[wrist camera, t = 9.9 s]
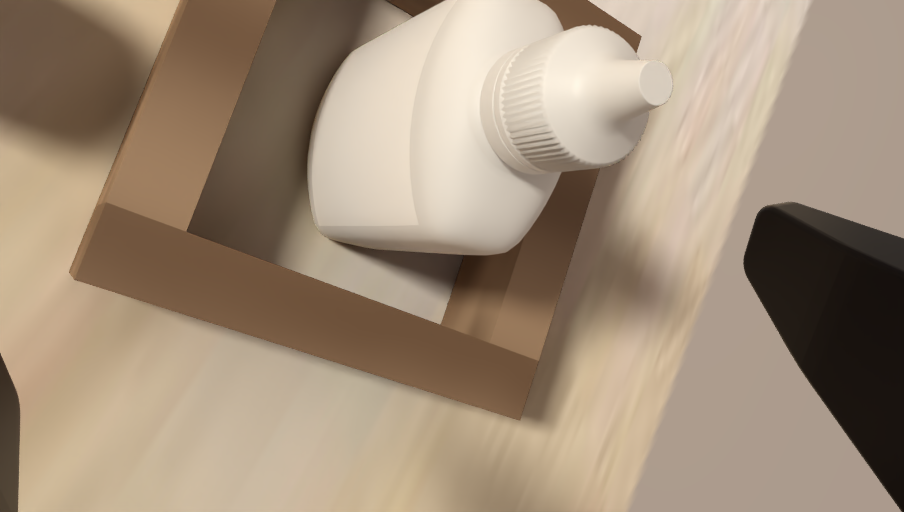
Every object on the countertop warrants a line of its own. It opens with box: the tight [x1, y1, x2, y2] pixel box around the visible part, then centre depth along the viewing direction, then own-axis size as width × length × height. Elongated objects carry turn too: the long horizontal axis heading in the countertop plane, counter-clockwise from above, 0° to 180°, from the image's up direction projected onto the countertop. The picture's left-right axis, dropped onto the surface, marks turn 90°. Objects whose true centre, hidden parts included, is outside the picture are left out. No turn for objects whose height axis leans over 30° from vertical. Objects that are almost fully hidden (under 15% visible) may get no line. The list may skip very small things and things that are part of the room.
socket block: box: [69, 0, 642, 420], centre depth 21 cm, size 12×12×3 cm
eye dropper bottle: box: [307, 0, 673, 255], centre depth 17 cm, size 4×6×12 cm
